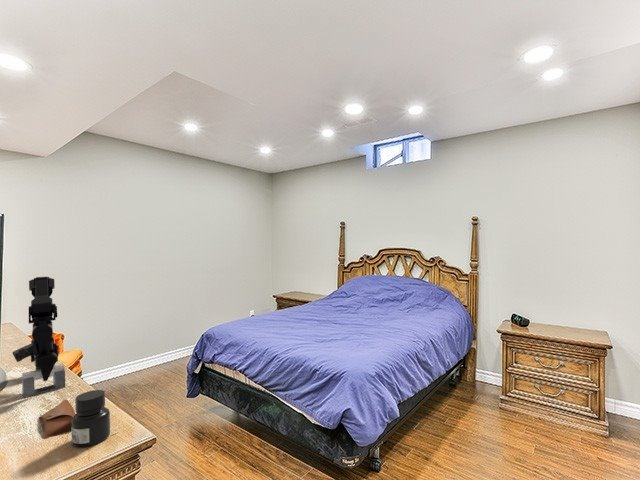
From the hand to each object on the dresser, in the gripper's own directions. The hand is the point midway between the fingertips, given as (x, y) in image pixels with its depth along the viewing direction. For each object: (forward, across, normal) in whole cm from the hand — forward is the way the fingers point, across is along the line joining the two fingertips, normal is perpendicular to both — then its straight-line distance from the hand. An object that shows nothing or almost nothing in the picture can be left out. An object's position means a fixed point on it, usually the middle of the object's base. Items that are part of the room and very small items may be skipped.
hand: (44, 378), depth 129 cm
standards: (+5, 0, 0) cm, 5 cm away
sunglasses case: (+5, +33, 0) cm, 33 cm away
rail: (0, 0, 0) cm, 0 cm away
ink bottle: (+5, +51, +4) cm, 51 cm away
